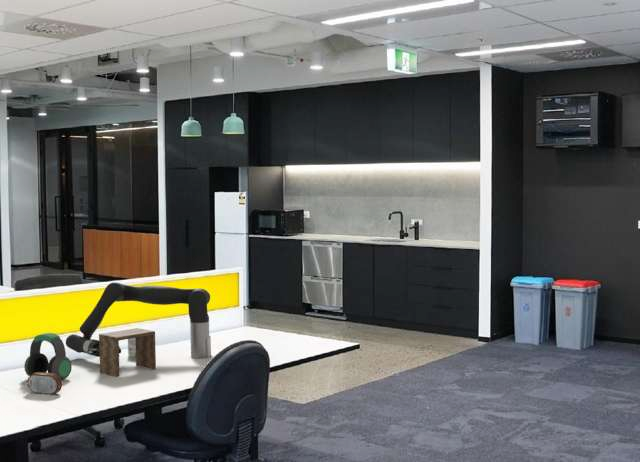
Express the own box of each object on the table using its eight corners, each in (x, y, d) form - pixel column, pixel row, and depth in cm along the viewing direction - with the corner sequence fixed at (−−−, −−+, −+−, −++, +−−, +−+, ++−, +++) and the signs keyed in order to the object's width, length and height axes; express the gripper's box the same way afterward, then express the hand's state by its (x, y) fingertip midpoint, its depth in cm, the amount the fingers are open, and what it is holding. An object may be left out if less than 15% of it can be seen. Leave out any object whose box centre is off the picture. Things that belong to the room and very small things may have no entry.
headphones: (74, 378, 351) (72, 332, 350) (56, 383, 341) (54, 337, 340) (41, 374, 359) (39, 330, 358) (22, 380, 349) (21, 334, 348)
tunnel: (100, 372, 361) (98, 334, 360) (138, 365, 376) (137, 328, 375) (117, 377, 352) (116, 337, 351) (155, 369, 367) (154, 331, 366)
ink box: (147, 356, 397) (146, 332, 397) (139, 358, 393) (139, 334, 392) (135, 354, 402) (134, 331, 401) (127, 356, 398) (127, 332, 397)
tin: (62, 393, 323) (62, 373, 323) (57, 395, 320) (57, 374, 320) (31, 391, 328) (31, 371, 328) (26, 393, 325) (26, 372, 325)
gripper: (80, 342, 377) (100, 346, 366) (107, 337, 388) (127, 342, 376) (81, 357, 378) (100, 362, 366) (107, 353, 388) (127, 357, 377)
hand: (113, 352), depth 371 cm, fingers closed on pill bottle, 6 cm apart
